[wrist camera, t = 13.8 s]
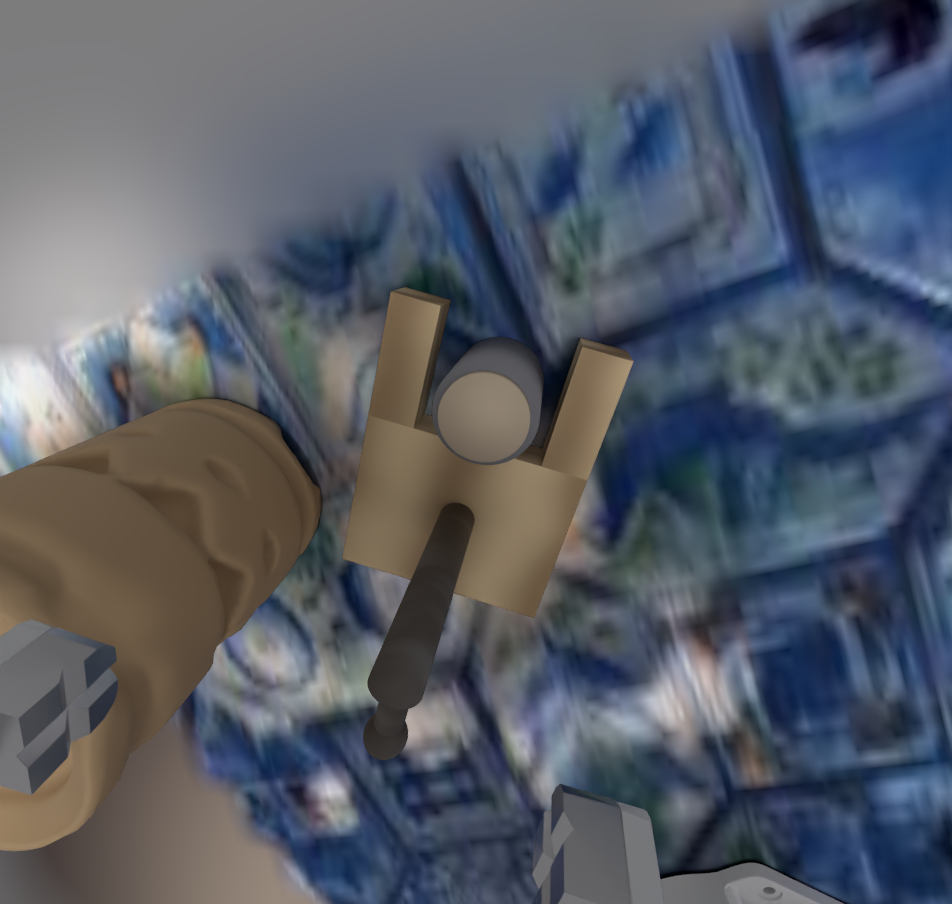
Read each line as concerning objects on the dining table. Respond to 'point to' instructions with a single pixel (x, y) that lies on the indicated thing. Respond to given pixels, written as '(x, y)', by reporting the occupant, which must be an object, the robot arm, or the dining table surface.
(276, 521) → the container
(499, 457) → the grey cylinder peg
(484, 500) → the wooden hook stand
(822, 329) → the dining table surface
